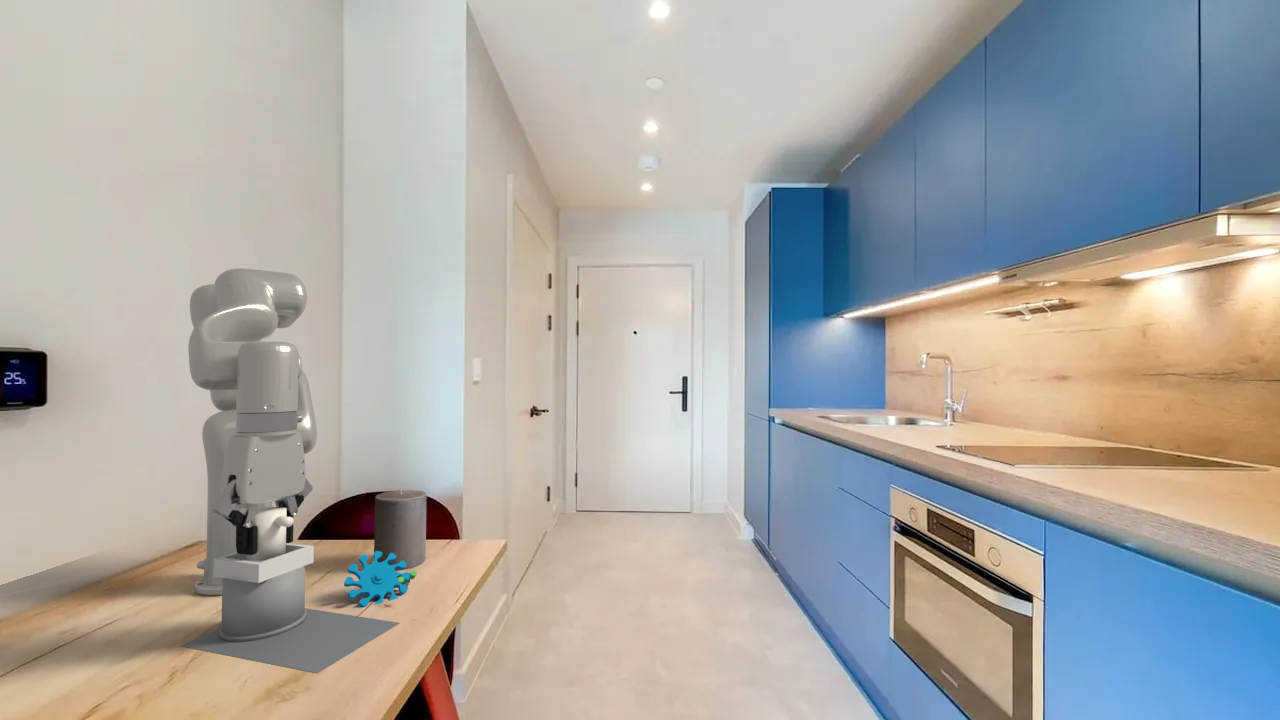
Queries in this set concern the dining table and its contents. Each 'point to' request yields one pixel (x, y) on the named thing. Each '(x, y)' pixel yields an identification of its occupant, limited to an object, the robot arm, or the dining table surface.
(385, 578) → the gear
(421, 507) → the pillar candle
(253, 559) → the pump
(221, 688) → the dining table surface
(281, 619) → the motor stand
